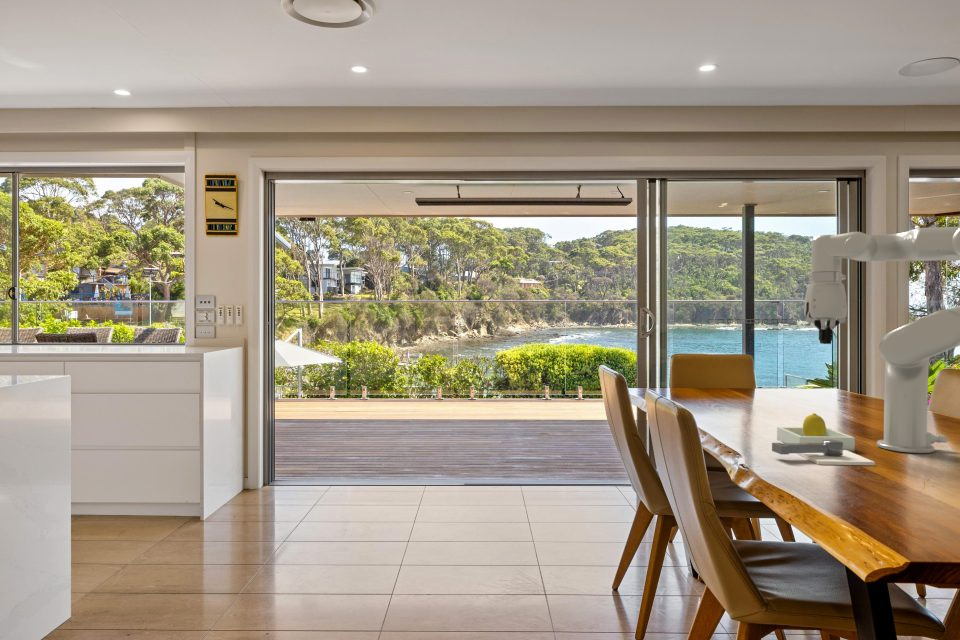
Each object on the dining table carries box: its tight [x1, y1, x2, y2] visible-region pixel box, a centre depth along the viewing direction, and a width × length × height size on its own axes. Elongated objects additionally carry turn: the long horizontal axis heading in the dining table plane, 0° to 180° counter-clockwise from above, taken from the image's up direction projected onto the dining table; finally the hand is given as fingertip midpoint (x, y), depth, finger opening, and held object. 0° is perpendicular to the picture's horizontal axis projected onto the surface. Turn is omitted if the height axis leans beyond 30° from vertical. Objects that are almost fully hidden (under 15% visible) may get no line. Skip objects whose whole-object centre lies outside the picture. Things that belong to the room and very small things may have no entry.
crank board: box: [795, 450, 876, 466], centre depth 156 cm, size 13×13×1 cm
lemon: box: [802, 413, 827, 436], centre depth 171 cm, size 6×6×8 cm
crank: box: [771, 440, 843, 456], centre depth 155 cm, size 17×4×3 cm, turn 96°
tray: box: [776, 426, 856, 452], centre depth 172 cm, size 14×14×4 cm
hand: (825, 343), depth 180 cm, fingers closed
